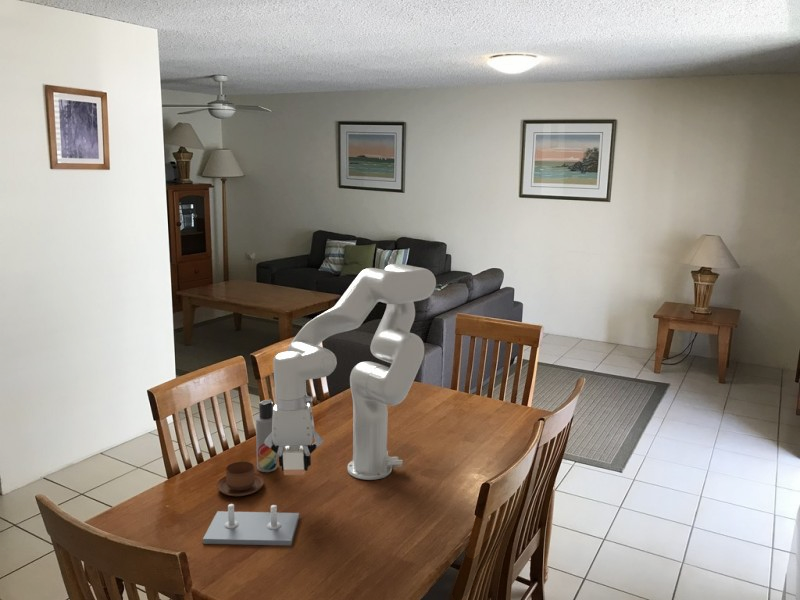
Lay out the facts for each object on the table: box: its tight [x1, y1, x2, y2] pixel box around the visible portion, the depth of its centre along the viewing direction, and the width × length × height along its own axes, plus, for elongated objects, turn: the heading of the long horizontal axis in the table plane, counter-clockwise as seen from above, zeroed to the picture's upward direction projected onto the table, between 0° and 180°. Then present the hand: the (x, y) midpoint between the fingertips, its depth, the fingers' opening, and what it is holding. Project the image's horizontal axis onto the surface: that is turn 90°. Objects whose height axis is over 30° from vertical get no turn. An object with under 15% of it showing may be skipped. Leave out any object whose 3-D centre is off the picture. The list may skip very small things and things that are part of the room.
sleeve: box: [283, 446, 306, 476], centre depth 167 cm, size 5×5×6 cm
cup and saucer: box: [216, 461, 265, 497], centre depth 174 cm, size 12×12×6 cm
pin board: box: [202, 503, 300, 546], centre depth 155 cm, size 20×12×6 cm, turn 90°
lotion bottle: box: [255, 399, 278, 473], centre depth 185 cm, size 6×6×20 cm
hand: (295, 467), depth 167 cm, fingers closed on sleeve, 5 cm apart
